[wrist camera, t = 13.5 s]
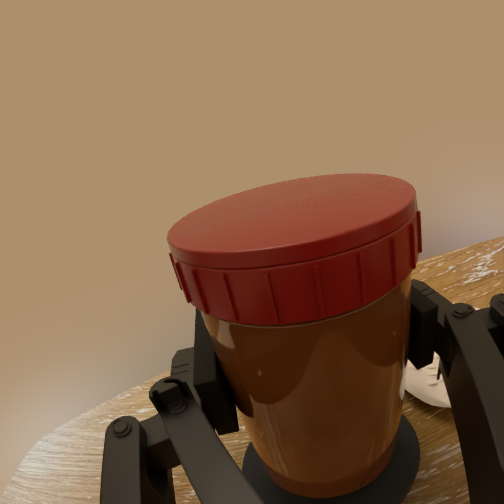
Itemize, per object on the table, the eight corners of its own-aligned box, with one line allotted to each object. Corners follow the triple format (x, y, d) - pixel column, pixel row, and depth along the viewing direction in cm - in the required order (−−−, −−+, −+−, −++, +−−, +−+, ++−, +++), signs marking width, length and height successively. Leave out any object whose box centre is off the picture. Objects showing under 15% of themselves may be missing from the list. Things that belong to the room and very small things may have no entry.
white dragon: (577, 378, 11) (598, 328, 9) (497, 483, 9) (527, 441, 7) (424, 288, 27) (424, 248, 26) (337, 333, 25) (331, 290, 24)
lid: (172, 360, 6) (140, 287, 6) (189, 247, 14) (177, 207, 13) (473, 266, 7) (475, 198, 6) (356, 205, 14) (350, 166, 13)
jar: (271, 515, 10) (166, 298, 6) (251, 411, 17) (187, 218, 13) (419, 464, 11) (459, 217, 7) (365, 376, 17) (349, 179, 13)
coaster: (258, 557, 9) (254, 554, 9) (237, 425, 18) (233, 418, 18) (446, 490, 10) (450, 484, 10) (377, 382, 19) (377, 373, 19)
